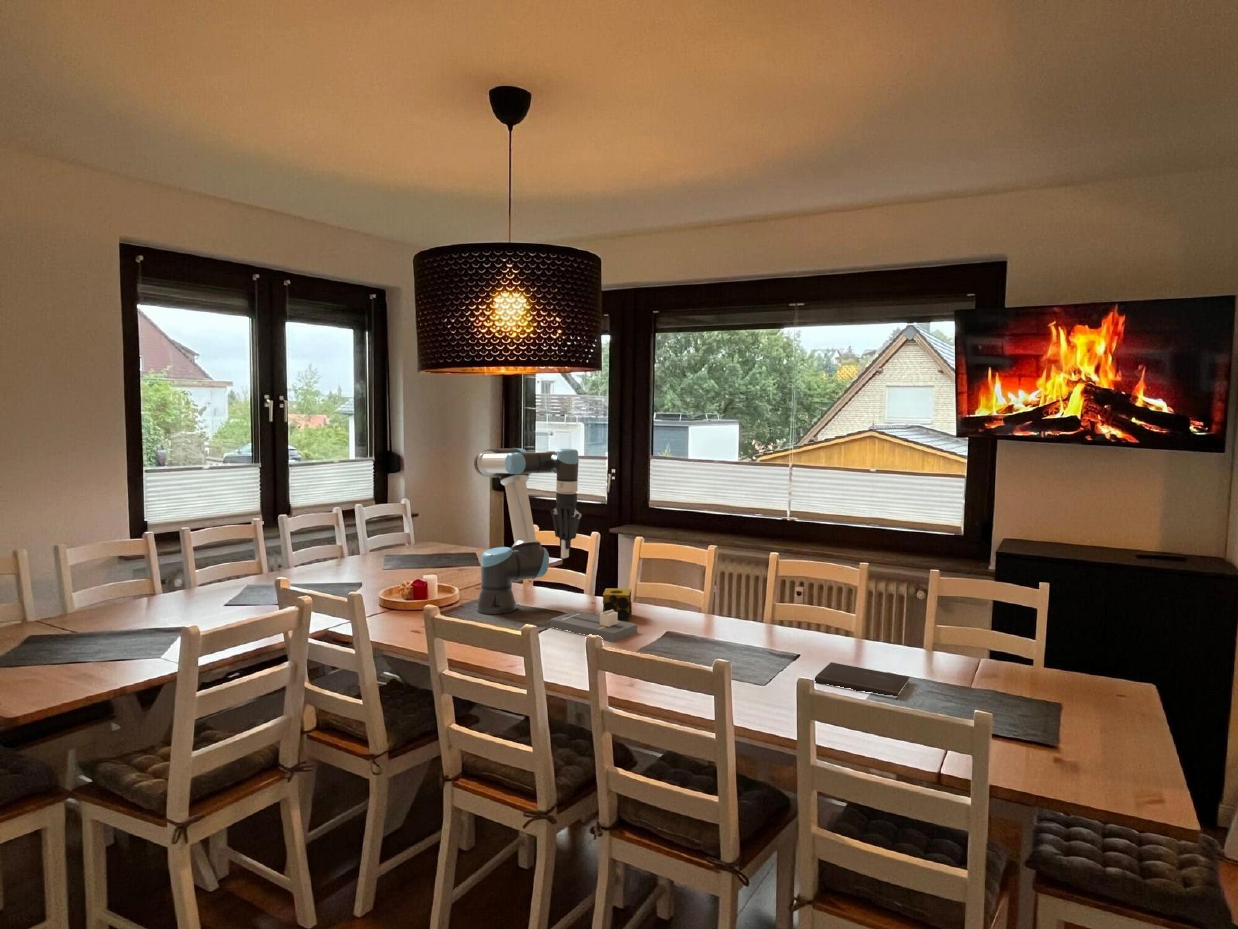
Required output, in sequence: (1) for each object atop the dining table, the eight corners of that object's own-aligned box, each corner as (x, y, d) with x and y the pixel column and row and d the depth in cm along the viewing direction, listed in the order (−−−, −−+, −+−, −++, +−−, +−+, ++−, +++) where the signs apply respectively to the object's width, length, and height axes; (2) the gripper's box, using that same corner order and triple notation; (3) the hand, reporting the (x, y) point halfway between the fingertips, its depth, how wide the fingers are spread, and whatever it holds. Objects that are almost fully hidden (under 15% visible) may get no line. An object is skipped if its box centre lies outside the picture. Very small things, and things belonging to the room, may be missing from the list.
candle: (631, 614, 293) (632, 588, 292) (629, 621, 283) (630, 595, 282) (605, 613, 294) (605, 587, 293) (602, 620, 284) (602, 594, 283)
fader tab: (599, 624, 266) (599, 611, 266) (608, 621, 270) (608, 608, 270) (608, 626, 264) (609, 613, 264) (617, 623, 268) (617, 610, 268)
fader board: (549, 627, 274) (549, 618, 274) (574, 619, 285) (574, 610, 285) (613, 642, 258) (613, 633, 257) (637, 632, 269) (637, 624, 269)
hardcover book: (830, 669, 236) (830, 662, 236) (909, 684, 224) (909, 676, 224) (814, 684, 222) (814, 677, 222) (897, 701, 210) (897, 693, 210)
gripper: (545, 491, 275) (544, 556, 277) (574, 495, 267) (572, 562, 270) (558, 489, 281) (557, 553, 283) (587, 493, 274) (585, 558, 276)
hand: (564, 557), depth 277 cm, fingers closed
